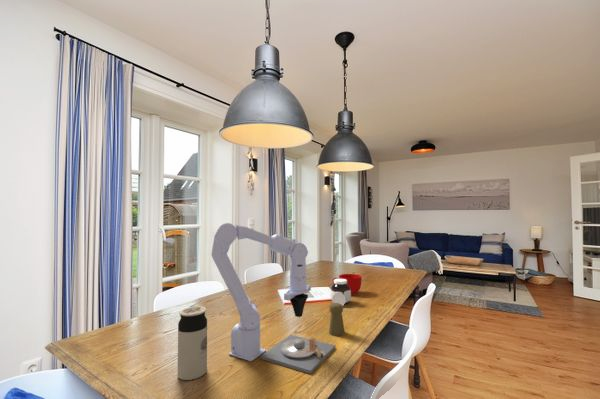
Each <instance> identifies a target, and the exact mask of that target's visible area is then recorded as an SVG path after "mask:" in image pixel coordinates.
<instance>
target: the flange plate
mask: <svg viewBox="0 0 600 399" xmlns="http://www.w3.org/2000/svg"><path fill="white" fill-rule="evenodd" d="M308 339H309V340H308ZM295 340H297V339H292V340H289V341H286V342H285V343H283V344H282V346H281V352H282V354H283V355H285V356H286V357H289V358H293V359H304V358H309V357H311V356H313V355H317V349H318V347H317V344H316V341H317V338H315V337H310V338H307V339H302V340H304V341H305V347H304V348H295V347H294V341H295ZM321 356H322V357H324V356H325V351H321Z"/></svg>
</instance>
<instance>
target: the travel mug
mask: <svg viewBox="0 0 600 399" xmlns="http://www.w3.org/2000/svg"><path fill="white" fill-rule="evenodd" d="M206 312H207V308H206V307H205V306H199V305H198V306H197V305H196V306H189V307H186V308H183V309H181V310H179V312H178V314H179V316H180V319H179V321H178V323H177V324H178V325H177V378H178V379H180V380H182V381H183V380H184V381H192V379H193V380H196V379H198V378H201V377H202V376H204V374H206V373H207V371H208V318H207V316H206Z"/></svg>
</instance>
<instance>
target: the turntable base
mask: <svg viewBox="0 0 600 399" xmlns="http://www.w3.org/2000/svg"><path fill="white" fill-rule="evenodd" d="M292 339H297V340H295V341H294V347H295V348H304V347H305V341H304V340H302V339H308V340H309V339H310V338H306V337H301V336H298V335H294V334H289V336H287V337H285V338H284V339H282V340H281V341H280V342H278V343H277V344H275V345H274V346H273V347H271V348H269V349H268V350H266V351H265V352H264V353H262V354H261V355H260V360H263V361H266V362H269V363H272V364H276V365H279V366H283V367H286V368H289V369H293V370H296V371H298V372H302V373H305V374H308V375H312V373H314V372H315V370H316V369H317V368H318V367H319V366H320V365H321V364H322V363H323V362H324V361H325V360H326V359H327V358H328V357H329V355H331V354H332V352H334V351H335V349H336V344H332V343H328V342H324V341H319V340H316V344H317V347H318V349H317V355H313V356H311V357H309V358H304V359H293V358H289V357H286V356H285V355H283V354H282V352H281V346H282V344H283V343H285V342H286V341H289V340H292ZM321 351H325V356H324V357H322V356H321Z"/></svg>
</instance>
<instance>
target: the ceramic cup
mask: <svg viewBox="0 0 600 399" xmlns="http://www.w3.org/2000/svg"><path fill="white" fill-rule="evenodd" d="M362 277H363V276H362V275H360V274H356V273H343V274H340V275H339V276H338V277H334V278H333V279H332V280H331V281H332V285H333V284H334V280H335V279H346V280H347V284H348V285H349V287H350V289H351V296H354V295H353V294H356V295H357V294H358V293H359V291H360V289H361V286H362Z"/></svg>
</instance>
